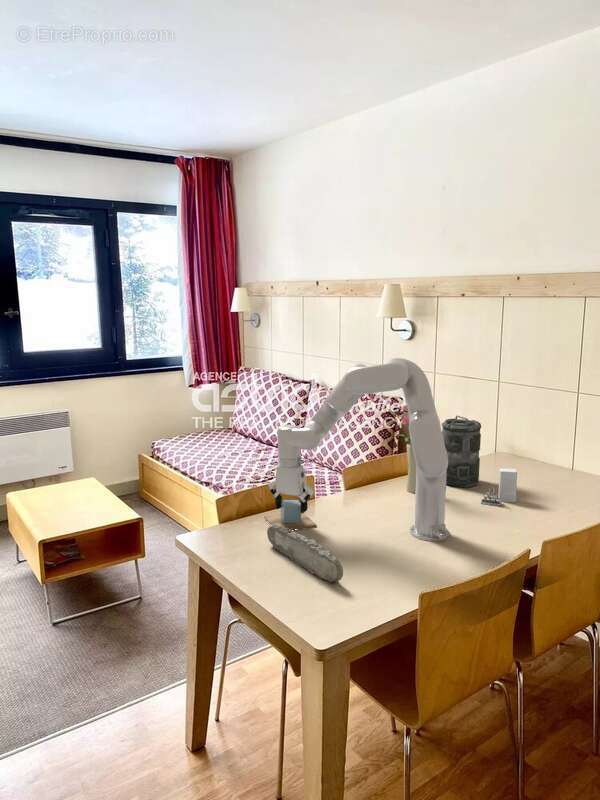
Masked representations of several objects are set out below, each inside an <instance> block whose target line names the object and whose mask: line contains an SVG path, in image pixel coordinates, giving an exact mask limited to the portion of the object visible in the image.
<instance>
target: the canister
mask: <svg viewBox="0 0 600 800" xmlns="http://www.w3.org/2000/svg"><path fill="white" fill-rule="evenodd" d="M481 429H482V424H481V422H480V421H477V420H475V419H472V420H471V419H468V418H467V417H464V416H461V415H458V414H456V415H455V418H448V419H445V420H444V421H443V422H441V431H442V435H443V440H444V444H445V448H446V450H447V455H448V467H447V470H446V486H452V487H459V488H460V487H461V488H466V489H467V488H473V487H475V486H476V485H478V483H479V481H480V465H481V463H480V462H481V461H480V460H481V458H480V450H481V440H482V437H481V436H482V434H481Z"/></svg>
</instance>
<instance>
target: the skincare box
mask: <svg viewBox="0 0 600 800" xmlns="http://www.w3.org/2000/svg"><path fill="white" fill-rule="evenodd" d="M517 485H518V471H517V469H516V468H499V471H498V493H497V495H498V497H499V498H500V500H501V502H502V503H505V502H506V503H516V502H517Z"/></svg>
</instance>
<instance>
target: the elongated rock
mask: <svg viewBox="0 0 600 800" xmlns="http://www.w3.org/2000/svg"><path fill="white" fill-rule="evenodd" d="M266 533H267V536H266V537H267V539H268V542H269V543H270V544H271V545H272V547H274V548H275V550H277V551H278V552H280V553H282V554H283V555H285V556H286V557H288V556H289V557H290V558H289V557H288V558H289V559H291V561H294V562H295V563H297V564H299V565H300V566H301V568H303V569H306V570H307V572H308V573H310V574H311V575H312V576H313V575H314V576H317V577H319V578H320V579H322V580H324V581H328V582H329V583H330V584H333V583H336V582H339V581H340V580H342V578H343V576H344V568H343V564H342V563H341V561H340V560H339V559H338V558H337V556H335V555H334V554H333V553H332V552H331V551H330V550H329V549H327V548H326V547H325V546H324V545H323V544H320V543H319V542H318V541H317V540H316V539H314V538H309V537H306V536H304V535H303V534H301V533H299V532H296V531H292V530H290V529H287V528H285V527H283V526H282V525H272V526H271V525H269V526H268V528H267V530H266Z"/></svg>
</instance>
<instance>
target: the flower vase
mask: <svg viewBox="0 0 600 800" xmlns="http://www.w3.org/2000/svg"><path fill="white" fill-rule="evenodd" d="M402 409H403V410H405V412H406V414H409V413H408V409H407V404H405V405H403V406H402ZM397 412H399V410H398V409H397ZM393 415H398V413H395V412H393ZM399 417H401V418H402V419H401V421H400V422H401V423H402V424H404V425H406V427H407V430H408V431H409V415H405V416H404V417H402V415H399ZM408 434H409V433H408ZM396 436H398V437H399V436H400V437H402V438H404V441H405V442H408V441H409V440H410V441H411V439H410V437H405V434H397V435H396ZM409 436H410V434H409ZM406 455H407V463H408V471H407V478H406V480H407V481H406V488H405V489H406V490H405V491H406V492H407V493H410V494H416V460H415V456H414V452H413V447H412V443H411V442H410V443H408V444H406Z"/></svg>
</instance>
